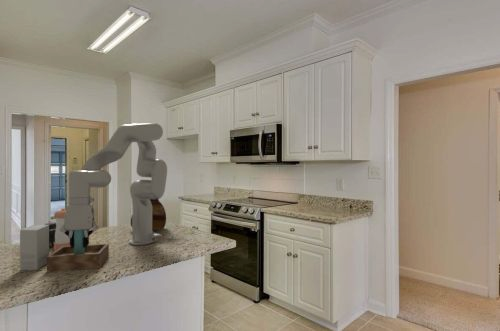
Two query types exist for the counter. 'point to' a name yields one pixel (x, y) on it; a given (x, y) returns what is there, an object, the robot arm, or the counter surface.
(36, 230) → the skincare box
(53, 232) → the battery charger
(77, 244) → the peg
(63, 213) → the salt shaker
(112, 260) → the counter surface
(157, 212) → the ceramic pitcher
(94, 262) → the box
